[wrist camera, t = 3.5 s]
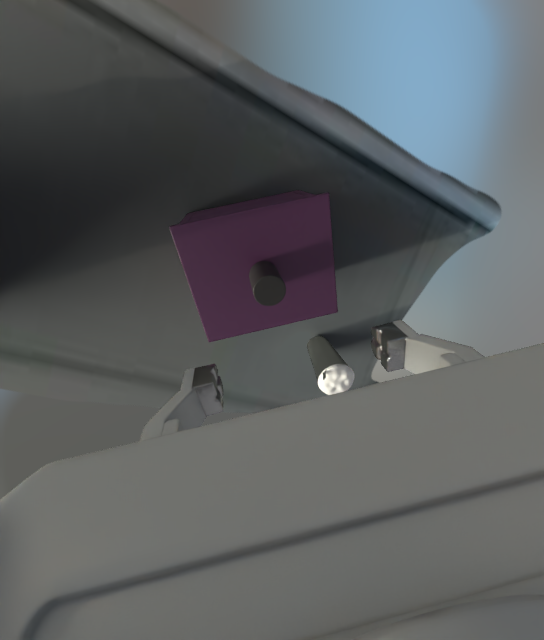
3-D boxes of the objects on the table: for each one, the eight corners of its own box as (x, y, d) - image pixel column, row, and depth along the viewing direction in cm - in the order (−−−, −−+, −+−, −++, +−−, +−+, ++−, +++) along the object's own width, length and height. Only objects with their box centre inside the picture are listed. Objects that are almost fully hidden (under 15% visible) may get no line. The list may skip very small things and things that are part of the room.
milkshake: (313, 322, 40) (339, 365, 31) (338, 341, 42) (368, 386, 34) (291, 344, 41) (310, 391, 33) (316, 362, 44) (340, 410, 35)
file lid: (209, 339, 29) (206, 367, 25) (170, 225, 23) (159, 237, 19) (335, 309, 29) (353, 332, 25) (326, 192, 24) (347, 197, 20)
